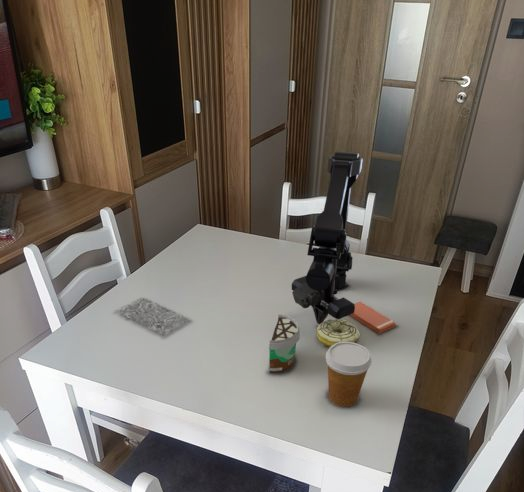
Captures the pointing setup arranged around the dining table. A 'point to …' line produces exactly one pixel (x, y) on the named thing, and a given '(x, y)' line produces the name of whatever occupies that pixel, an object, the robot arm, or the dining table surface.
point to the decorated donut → (337, 332)
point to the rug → (152, 316)
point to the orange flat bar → (372, 318)
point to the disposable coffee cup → (346, 372)
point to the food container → (283, 344)
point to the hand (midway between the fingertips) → (319, 323)
